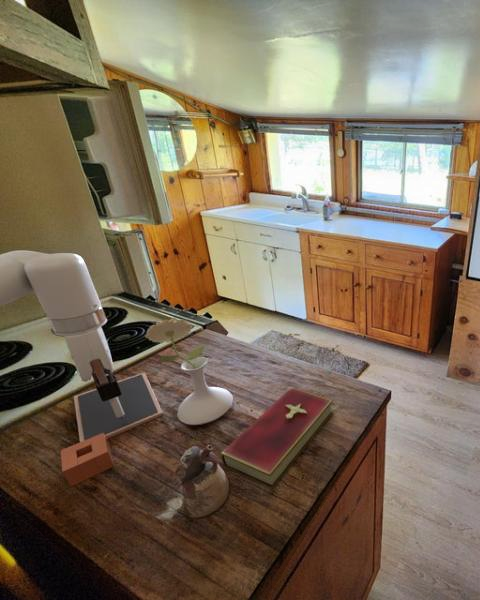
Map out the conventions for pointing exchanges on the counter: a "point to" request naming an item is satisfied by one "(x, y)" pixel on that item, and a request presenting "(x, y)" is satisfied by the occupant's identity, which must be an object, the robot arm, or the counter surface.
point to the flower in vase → (192, 376)
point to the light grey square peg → (117, 407)
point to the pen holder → (86, 459)
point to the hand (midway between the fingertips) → (111, 394)
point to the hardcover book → (277, 437)
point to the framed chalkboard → (101, 416)
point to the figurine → (202, 481)
